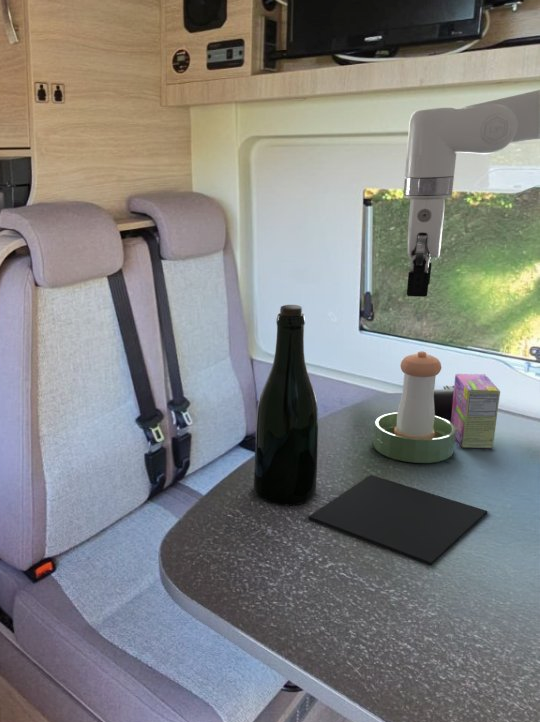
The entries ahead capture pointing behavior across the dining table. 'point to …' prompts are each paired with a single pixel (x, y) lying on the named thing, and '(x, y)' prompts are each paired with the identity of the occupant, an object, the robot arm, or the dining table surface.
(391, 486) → the mat
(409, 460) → the bowl
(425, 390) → the pepper shaker
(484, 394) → the box
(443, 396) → the end cap
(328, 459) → the dining table surface
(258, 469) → the dark green wine bottle
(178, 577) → the dining table surface
